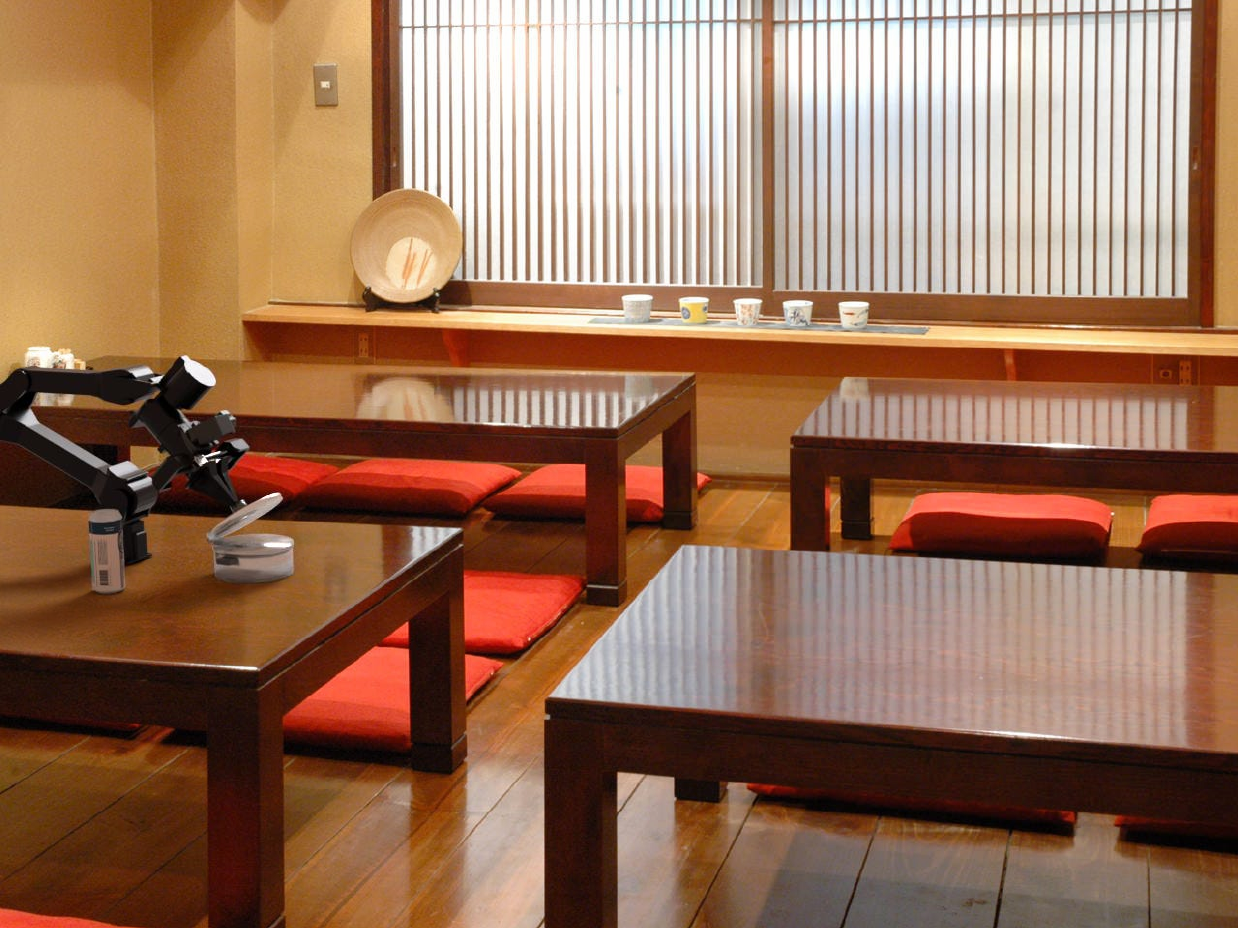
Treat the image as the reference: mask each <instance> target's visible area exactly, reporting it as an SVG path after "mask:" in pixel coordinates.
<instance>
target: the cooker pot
mask: <svg viewBox="0 0 1238 928" xmlns="http://www.w3.org/2000/svg"><path fill="white" fill-rule="evenodd" d="M294 547H295V541H294V539H293V538H292V537H289V536H287V535H283V534H276V533H275V534H273V533H247V534H244V533H243V534H237V535H230V536H227V537H226V536H225V537H223V538H222V539H219V540H217V541H215V542H212V543H211V549H212V551H213V563H214V564H213V565H214V566H213V567H214V570H213V571H214V577H215V578H216V579H218V580H220V581H223V582H228V583H236V584H259V583H260V584H261V583H269V582H275V581H278V580H279V581H280V580H283V579H285V578H289V577H290V576H292V575H293V574H294V572H295V571H294V568H295V567H294V566H295V565H294Z"/></svg>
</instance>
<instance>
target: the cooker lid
mask: <svg viewBox="0 0 1238 928" xmlns="http://www.w3.org/2000/svg"><path fill="white" fill-rule="evenodd" d="M283 498H284V497H283V496H282V494H281V493H280V492H275V493H271V494H269V495H266V496H264V497H262V498H260V499H257V500H255V501H253V502H251V503H249V504H248V503H247V502H246V501H245V499H243V498H242V499H241V500H238V502H236V503H235V504H233V505H232V506H229V507H230V509H231V511H232V514H230V515H228V516H227V517H225V518H224V519H223V520H221V521H220V522H218V523H216V525H214V526H213V527H212V528H210V530H208V531H207V533H206V537H207V539H206V541H207V543H208V544H213V543H214V542H215V541H217V540H219V539H222V538H225V537H226V536H228V535H230V534H232V533H234V532H236V531H239V530H240V529H242V528H243V527H246V526H247V525H249V524H251V523H253V522H254V521H256V520H258V519H259V518H261V517H262V516H264V515H265V514H267V513H268V512H270V511H271V510H273V509H274V508H275V507H276V506H278V505H279V504H280V503H281V502H282V501H283Z"/></svg>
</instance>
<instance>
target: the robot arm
mask: <svg viewBox="0 0 1238 928" xmlns="http://www.w3.org/2000/svg"><path fill="white" fill-rule="evenodd" d="M216 383H217V381H216V377H215V376H214V374H213V372H212V371H211V370H210V369H209V368H208V367H205V366H204V365H203V364H201V363H199V362H198V361H195V360H192V359H191V358H190V357H189V356H188V355H187V354H185V355H180V356H179V357H177V358H176V359H175V360H174V362H173V365H172V366H171V367H170V368H169V370H167V372H166V373H164V374H163V373H158V372H153V371H152V369H151V368H150V366H147V365H145V364H133V365H128V366H127V365H126V366H121V367H116V368H115V367H114V368H109V369H103V370H99V369H98V370H97V369H80V368H77V369H76V368H60V367H59V368H58V367H42V366H41V367H40V366H37V365H28V366H24V367H19V368H16V369H14V370H13V371H12V372H11V373H10V374H9V375H8V376H7V378H6V379H5V380H4V381H2V382H1V383H0V442H4V443H9V444H13V445H14V444H15V445H18V446H20V447H21V448H23V449H25V450H27V451H28V452H30V453H32V454H33V455H35V456H37V457H38V458H40V459H41V460H43V461H44V462H47V463H48V464H50V465H51V466H53V467H55V468H57V469H58V470H60V471H62V472H63V473H65V474H67V475H68V476H70V477H71V478H73V479H74V480H77V481H78V482H80V483H81V484H82V485H84V486H86V487H88V488H89V489H90V490H91V492H92V493H93V494H94V497H95V498H96V500H97V502H98V503H99V504H98V505H97V506H96V507H95V509H93V511H95V510H101V509H115V510H118V511H119V513H120V515H121V516H122V532H123V552H124V566H125V565H131V564H134V563H136V562H138V561H142V560H145V559H148V558H150V557H153V553H152V552H148V538H147V537H148V536H147V535H148V533H147V531H146V530H145V521H144V520H142V519H145V518H148V517H149V516H150V513H151V510H152V507H153V506H154V505H155V504H156V502H157V499H158V497H159V496H158V493H162V492H166V491H169V490H171V489H172V488H173V482H172V479H173V478H176V477H179V476H184V475H185V476H186V477H185V479H186V480H187V482H186V483H185V484H184V485H183V488H184V489H185V490H192V491H194V492H196V493H199V494H202V495H203V496H207V497H209V498H210V499H211V498H212V499H213V500H216V501H218V502H219V503H220V502H221V503H222V504H225V505H227V506H229V507H231V506H232V505H233V504H235V503H236V502H238V501H239V499H238V496H237V493H236V492H235V489H234V486H233V483H232V481H231V478H230V475H229V472H230V471H232V470H233V469H234V468H235V466H236V465H237V464H238V463H239V462H240V460H242V458H243V457H244V456H245V455H246V454H247V453H248V451H249V450H250V446H249V445H248V443H247V442H246V441H245V440H244V439H243V438H239V437H238V438H232V439H228V440H224V441H222V442H221V444H220V442H219V440H220V439H222V438H224V437H226V436H229V435H233V434H235V433H236V429H235V428H236V427H237V417H234V416H233V414H232V413H231V412H230V411H228V410H227V409H225V410H224V409H223V410H220V411H219V412H217V413H214V414H213V417H210V418H207V419H205V420H204V421H201V422H200V421H197V420H193V421H190V420H189V419H188V418H187V417H186V415H184V413H183V412H182V411H184V410H186V411H192V410H193V409H195V407H196V406H197V405H198V404H199V403H200V402H201V401H202V400H203V399H204V397H205V396H206V395H207V394H208V393H209V392H210V391H211V390H212V389H213V388H214V386H215V385H216ZM155 393H157V395H155ZM38 394H55V395H56V394H57V395H58V394H60V395H77V396H79V395H80V396H89V397H90V396H91V397H94V398H97V399H99V400H101V401H103V402H105V403H110V404H114V405H116V406H117V405H119V406H123V407H124V406H125V407H126V406H129V405H133V404H136V403H141V402H143V401H144V402H143V404H142V405H140V406H139V408H138V409H131V410H129V419H128V423H127V427H128V428H130V429H133V428H139V427H140V428H141V427H145V428H146V429H147V431H148V432H149V433H150V434H151V435H152V436H153V438H154V439H155V440H156V441H157V442H158V444H160V445H159V446H158V447H157V448H156V450H157V451H158V452H159V454H161V455H162V454H166V453H167V455H169V456H167V457H165V459H164V460H163V461H162V462H161V464H160V465H159V466H158V467H157V468H156V470H155V471H153V473H152V474H151V475H150V476H151V477H150V476H148V475H149V474H150V472H149V471H146V470H143V469H140V468H139V467H138V466H137V465H135V464H134V463H133V462H131V461H129V460H126V461H122V462H120V463H116V464H114V465H111V464H109V463H107V462H105V461H104V460H102V459H100V458H99V457H97V456H95V455H94V454H92V453H90V452H89V451H87V450H86V449H84V448H82V447H81V446H79V445H77V444H76V443H74V442H72V441H71V440H69V439H67V438H65V437H64V436H62V435H61V434H59V433H57V432H55V431H54V430H53V429H51V428H49V427H47V426H46V425H44V424H42V423H40V422H39V421H38V419H37V417H36V416H35V414H34V412H33V410H32V409H31V406H32V405H33V404H34V403H35V400H36V398H37V396H38ZM154 395H155V396H154ZM153 396H154V398H152V397H153ZM219 444H220V445H219ZM218 445H219V446H218ZM217 446H218V447H217ZM215 448H216V449H215ZM213 449H215V451H213Z"/></svg>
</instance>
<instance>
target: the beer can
mask: <svg viewBox="0 0 1238 928" xmlns="http://www.w3.org/2000/svg"><path fill="white" fill-rule="evenodd" d="M94 510H95V509H94ZM94 510H92V511H91V513H90V515H89V516H88V518H87V520H88V522H87V523H88V537H89V538H88V539H89V554H90V555H89V556H90V571H91V590H93V591H95V592H96V593H98V594H104V595H107V594H108V595H109V594H116V593H119V592H121V591H122V590H124V589H125V588H126V576H125V575H126V574H125V573H126V572H125V571H126V570H125V564H124V552H123V532H122V516H121V515H120V513H119V511H118V510H115V509H101V510H95V511H94Z"/></svg>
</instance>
